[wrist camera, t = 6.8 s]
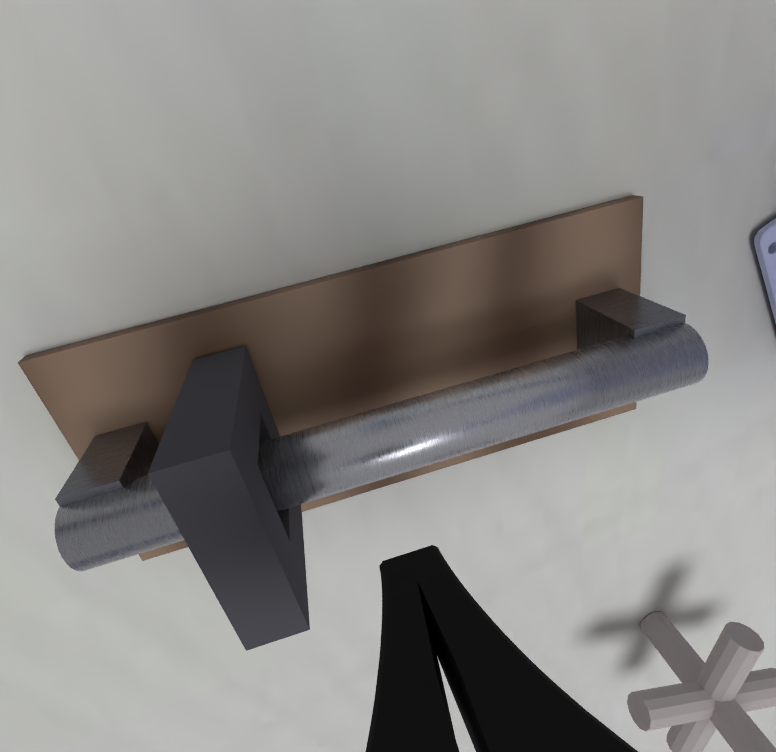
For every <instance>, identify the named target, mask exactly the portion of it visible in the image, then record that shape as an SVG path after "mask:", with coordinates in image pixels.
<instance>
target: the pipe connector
mask: <svg viewBox="0 0 776 752" xmlns="http://www.w3.org/2000/svg"><path fill="white" fill-rule="evenodd" d="M640 627H641V629H642V630H643V632H644V633H645V634H646V636H647V637H648V638H649V640H650V641H651V642H652V644H653V645H654V646H655V648H656V649H657V650H658V652H659V653H660V654H661V655H662V657H663V658H664V659H665V661H666V662H667V663H668V665H669V666H670V667H671V669H672V670H673V671H674V673H675V674H676V675H677V677H678V678H679V679H680V681H681V682H682V683H681V684H675V685H670V686H664V687H658V688H652V689H647V690H641V691H635V692H631V693H630V694H629V695H628V701H627V703H628V708H629V712H630V714H631V716H632V718H633V720H634V722H635V723H636V724H637V726H638V727H639V728H640V729H642V730H644V731H649V730H654V729H659V728H664V727H669V726H671V728H670V730H669V732H668V734H667V743H668V745H669V747H670V749H671V750H672V752H703V750H704V748H705V747H706V745H707V743H708V742H709V740H710V738H711V737H712V735H713V733H714V732H715V730H716V728H717V730H718V731H719V732H720V733H721V735H722V736H723V737H724V739H725V740H726V741H727V743H728V744H729V745H730V747H731V748H732V749H733V751H734V752H776V748H775V747H774V746H773V745H772V743H771V742H770V741H769V740H768V739H767V737H766V736H765V735H764V734H763V733H762V731H761V730H760V729H759V728H758V727H757V725H756V724H755V723H754V722H753V721H752V719H751V718H750V717H749V716H748V715H747V713H746V711H752V710H757V709H762V708H767V707H772V706H776V669H775V668H768V669H762V670H756V671H751V670H752V668H753V666H754V665H755V663H756V661H757V660H758V658H759V656H760V655H761V653H762V651H763V650H764V642H763V641H762V639H761V638H760V636H759V635H758V634H757V633H756V632H754V631H753V630H752V629H751V628H749V627H747V626H745V625H743V624H741V623H737V622H729V623H728V624H726V625H725V627H724V629H723V631H722V632H721V634H720V636H719V638H718V640H717V642H716V644H715V646H714V647H713V649H712V651H711V653H710V655H709V657H708V659H707V661H706V662H705V663H704V661H703V660H702V659H701V658H700V657H699V655H698V654H697V653H696V652H695V651H694V649H693V648H692V647H691V646H690V645H689V643H688V642H687V641H686V640H685V639H684V637H683V636H682V635H681V634H680V633H679V631H678V630H677V629H676V628H675V626H674V625H673V624H672V623H671V622H670V620H669V619H668V618H667V617H666V616H665V614H664V613H662V612H654V613H651V614H649V615H648V616H646V617H645V618H644V619H643V620H642V622H641V625H640ZM750 671H751V672H750Z"/></svg>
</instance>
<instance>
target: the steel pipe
mask: <svg viewBox="0 0 776 752" xmlns="http://www.w3.org/2000/svg"><path fill="white" fill-rule="evenodd" d="M685 317H686V315H684V314H682V313H679V312H677V311H674V310H672V309H670V308H667V307H665V306H662V305H660V304H657V303H655V302H653V301H650V300H648V299H645V298H643V297H640V296H638V295H636V294H633V293H631V292H628V291H626V290H623V289H621V288H616V289H612V290H609V291H605V292H602V293H598V294H595V295H591V296H588V297H584V298H581V299H577V300H576V332H577V350H574V351H571V352H567V353H564V354H560V355H557V356H554V357H550V358H547V359H543V360H540V361H537V362H533V363H530V364H526V365H523V366H519V367H516V368H513V369H509V370H506V371H502V372H499V373H496V374H492V375H489V376H485V377H482V378H478V379H475V380H472V381H468V382H465V383H461V384H458V385H454V386H451V387H448V388H444V389H441V390H437V391H434V392H431V393H427V394H424V395H420V396H417V397H413V398H410V399H407V400H403V401H400V402H396V403H393V404H390V405H386V406H383V407H379V408H376V409H372V410H369V411H366V412H362V413H359V414H355V415H352V416H349V417H345V418H342V419H338V420H335V421H331V422H328V423H325V424H321V425H318V426H314V427H311V428H308V429H304V430H301V431H297V432H294V433H290V434H287V435H284V436H280V437H277V438H273V439H270V440H267V441H263V442H260V443H259V455H258V467H259V469H260V472H261V474H262V476H263V479H264V481H265V484H266V486H267V488H268V491H269V493H270V496H271V498H272V500H273V503H274V505H275V507H276V510H277V511H281V510H284V509H287V508H291V507H294V506H297V505H300V504H304V503H307V502H310V501H313V500H317V499H320V498H323V497H326V496H330V495H333V494H336V493H339V492H343V491H346V490H349V489H352V488H356V487H359V486H362V485H366V484H369V483H372V482H375V481H379V480H382V479H385V478H388V477H392V476H395V475H398V474H401V473H405V472H408V471H411V470H414V469H418V468H421V467H424V466H427V465H431V464H434V463H437V462H441V461H444V460H447V459H450V458H454V457H457V456H460V455H463V454H467V453H470V452H473V451H476V450H480V449H483V448H486V447H489V446H493V445H496V444H499V443H502V442H506V441H509V440H512V439H516V438H519V437H522V436H525V435H529V434H532V433H535V432H538V431H542V430H545V429H548V428H551V427H555V426H558V425H561V424H564V423H568V422H571V421H574V420H577V419H581V418H584V417H587V416H590V415H594V414H597V413H600V412H604V411H607V410H610V409H613V408H617V407H620V406H623V405H626V404H630V403H633V402H636V401H639V400H643V399H646V398H649V397H652V396H656V395H659V394H662V393H665V392H669V391H672V390H675V389H679V388H682V387H685V386H688V385H692V384H695V383H698V382H699V381H701V380H702V379H703V378H704V377H705V375H706V373H707V370H708V353H707V350H706V347H705V344H704V342H703V340H702V338H701V337H700V335H699V334H698V333H697V332H696V330H695V329H693V328H692V327H691V326H690V325H688V324H686V323H685ZM158 446H159V442H158V441H157V439H156V437H155V435H154V433H153V431H152V429H151V427H150V425H149V423H148V421H145V422H141V423H138V424H134V425H131V426H127V427H124V428H120V429H117V430H113V431H110V432H106V433H103V434H99V435H95V436H94V438H93V440H92V441H91V443H90V444H89V446H88V448H87V449H86V451H85V452H84V454H83V456H82V457H81V459H80V460H79V462H78V464H77V465H76V467H75V468H74V470H73V472H72V473H71V475H70V476H69V478H68V480H67V481H66V483H65V484H64V486H63V487H62V489H61V491H60V492H59V494H58V495H57V497H56V499H55V500H56V501H57V503H58V504H59V506H60V507H59V509H58V512H57V515H56V519H55V538H56V543H57V546H58V549H59V552H60V554H61V556H62V558H63V559H64V561H65V562H66V563H67V565H69V566H70V567H71V568H72V569H74V570H77V571H85V570H88V569H92V568H95V567H98V566H101V565H105V564H108V563H111V562H114V561H118V560H121V559H124V558H128V557H131V556H134V555H137V554H141V553H144V552H147V551H150V550H154V549H157V548H160V547H163V546H167V545H170V544H173V543H176V542H180V541H183V540H184V538H183V536H182V534H181V533H180V531H179V529H178V527H177V525H176V524H175V522H174V520H173V518H172V516H171V515H170V513H169V511H168V509H167V507H166V506H165V504H164V502H163V500H162V498H161V497H160V495H159V493H158V491H157V489H156V488H155V486H154V484H153V482H152V481H151V479H150V477H149V475H148V472H149V469H150V467H151V464H152V462H153V459H154V457H155V454H156V452H157V449H158Z"/></svg>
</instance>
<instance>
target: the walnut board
mask: <svg viewBox="0 0 776 752" xmlns="http://www.w3.org/2000/svg"><path fill="white" fill-rule="evenodd" d="M642 218H643V197H641V196H634V195H633V196H629V197H625V198H622V199H618V200H614V201H610V202H606V203H603V204H599V205H595V206H591V207H588V208H584V209H580V210H576V211H572V212H569V213H565V214H561V215H557V216H554V217H550V218H546V219H542V220H538V221H535V222H531V223H527V224H523V225H519V226H516V227H512V228H508V229H504V230H501V231H497V232H493V233H489V234H485V235H482V236H478V237H474V238H470V239H467V240H463V241H459V242H455V243H451V244H448V245H444V246H440V247H436V248H433V249H429V250H425V251H421V252H417V253H414V254H410V255H406V256H402V257H398V258H395V259H391V260H387V261H383V262H380V263H376V264H372V265H368V266H364V267H361V268H357V269H353V270H349V271H346V272H342V273H338V274H334V275H330V276H327V277H323V278H319V279H315V280H311V281H308V282H304V283H300V284H296V285H293V286H289V287H285V288H281V289H277V290H274V291H270V292H266V293H262V294H259V295H255V296H251V297H247V298H243V299H240V300H236V301H232V302H228V303H225V304H221V305H217V306H213V307H209V308H206V309H202V310H198V311H194V312H190V313H187V314H183V315H179V316H175V317H172V318H168V319H164V320H160V321H156V322H153V323H149V324H145V325H141V326H138V327H134V328H130V329H126V330H122V331H119V332H115V333H111V334H107V335H103V336H100V337H96V338H92V339H88V340H85V341H81V342H77V343H73V344H69V345H66V346H62V347H58V348H54V349H51V350H47V351H43V352H39V353H35V354H32V355H28V356H25V357H24V358H23V359H22V360H20V361H19V362H18V364H19V365H20V367H21V369H22V370H23V372H24V373H25V375H26V376H27V378H28V380H29V381H30V383H31V384H32V386H33V388H34V389H35V391H36V392H37V394H38V396H39V397H40V399H41V400H42V402H43V403H44V405H45V407H46V408H47V410H48V411H49V413H50V415H51V416H52V418H53V419H54V421H55V423H56V424H57V426H58V427H59V429H60V430H61V432H62V434H63V435H64V437H65V438H66V440H67V442H68V443H69V445H70V446H71V448H72V449H73V451H74V453H75V454H76V456H77V457H78V459H79V460H80V459H81V457H82V456H83V454H84V452H85V451H86V449H87V448H88V446H89V444H90V443H91V441H92V440H93V438H94V436H95V435H99V434H103V433H106V432H110V431H113V430H117V429H120V428H124V427H127V426H131V425H134V424H138V423H141V422H145V421H148V423H149V425H150V427H151V429H152V431H153V433H154V435H155V437H156V439H157V441H158V442H159V444H160V441H161V439H162V436H163V434H164V431H165V429H166V426H167V424H168V421H169V418H170V416H171V413H172V411H173V408H174V406H175V403H176V401H177V398H178V395H179V393H180V390H181V388H182V385H183V383H184V380H185V378H186V375H187V373H188V370H189V367H190V365H191V362H192V360H195V359H199V358H203V357H206V356H210V355H214V354H217V353H221V352H225V351H228V350H232V349H236V348H239V347H243V346H246V348H247V350H248V353H249V356H250V358H251V361H252V364H253V366H254V369H255V371H256V374H257V377H258V379H259V382H260V385H261V387H262V390H263V393H264V395H265V398H266V401H267V403H268V406H269V408H270V411H271V414H272V416H273V419H274V422H275V424H276V427H277V430H278V432H279V435H280V436H284V435H287V434H290V433H294V432H297V431H301V430H304V429H308V428H311V427H314V426H318V425H321V424H325V423H328V422H331V421H335V420H338V419H342V418H345V417H349V416H352V415H355V414H359V413H362V412H366V411H369V410H372V409H376V408H379V407H383V406H386V405H390V404H393V403H396V402H400V401H403V400H407V399H410V398H413V397H417V396H420V395H424V394H427V393H431V392H434V391H437V390H441V389H444V388H448V387H451V386H454V385H458V384H461V383H465V382H468V381H472V380H475V379H478V378H482V377H485V376H489V375H492V374H496V373H499V372H502V371H506V370H509V369H513V368H516V367H519V366H523V365H526V364H530V363H533V362H537V361H540V360H543V359H547V358H550V357H554V356H557V355H560V354H564V353H567V352H571V351H574V350H577V332H576V300H577V299H581V298H584V297H588V296H591V295H595V294H598V293H602V292H605V291H609V290H612V289H616V288H621V289H623V290H626V291H628V292H631V293H633V294H636V295H638V296H640V278H641V248H642ZM634 409H636V402H633V403H630V404H626V405H623V406H620V407H617V408H613V409H610V410H607V411H604V412H600V413H597V414H594V415H590V416H587V417H584V418H581V419H577V420H574V421H571V422H568V423H564V424H561V425H558V426H555V427H551V428H548V429H545V430H542V431H538V432H535V433H532V434H529V435H525V436H522V437H519V438H516V439H512V440H509V441H506V442H502V443H499V444H496V445H493V446H489V447H486V448H483V449H480V450H476V451H473V452H470V453H467V454H463V455H460V456H457V457H454V458H450V459H447V460H444V461H441V462H437V463H434V464H431V465H427V466H424V467H421V468H418V469H414V470H411V471H408V472H405V473H401V474H398V475H395V476H392V477H388V478H385V479H382V480H379V481H375V482H372V483H369V484H366V485H362V486H359V487H356V488H352V489H349V490H346V491H343V492H339V493H336V494H333V495H330V496H326V497H323V498H320V499H317V500H313V501H310V502H307V503H304V504H301V511H302V512H303V511H306V510H309V509H312V508H316V507H319V506H322V505H325V504H329V503H332V502H335V501H338V500H342V499H345V498H348V497H351V496H355V495H358V494H361V493H364V492H368V491H371V490H374V489H377V488H381V487H384V486H387V485H390V484H394V483H397V482H400V481H403V480H407V479H410V478H413V477H416V476H420V475H423V474H426V473H429V472H433V471H436V470H439V469H442V468H445V467H449V466H452V465H455V464H458V463H462V462H465V461H468V460H471V459H475V458H478V457H481V456H484V455H488V454H491V453H494V452H497V451H501V450H504V449H507V448H510V447H514V446H517V445H520V444H523V443H527V442H530V441H533V440H536V439H540V438H543V437H546V436H549V435H553V434H556V433H559V432H562V431H566V430H569V429H572V428H575V427H579V426H582V425H585V424H588V423H592V422H595V421H598V420H601V419H604V418H608V417H611V416H614V415H617V414H621V413H624V412H627V411H630V410H634ZM186 547H188V545H187V543H186V542H185V540H183V541H180V542H176V543H173V544H170V545H167V546H163V547H160V548H157V549H154V550H150V551H147V552H144V553H141V554H139V556H140V557H141V559H142V561H144V560H147V559H150V558H153V557H157V556H160V555H163V554H166V553H170V552H173V551H176V550H179V549H183V548H186Z"/></svg>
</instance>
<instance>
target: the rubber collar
mask: <svg viewBox="0 0 776 752" xmlns="http://www.w3.org/2000/svg"><path fill="white" fill-rule="evenodd" d="M277 437H280V435H279V432H278V430H277V427H276V424H275V422H274V419H273V416H272V414H271V411H270V408H269V406H268V403H267V401H266V398H265V395H264V393H263V390H262V387H261V385H260V382H259V379H258V377H257V374H256V371H255V369H254V366H253V364H252V361H251V358H250V356H249V353H248V350H247V348H246V346H243V347H239V348H236V349H232V350H228V351H225V352H221V353H217V354H214V355H210V356H206V357H203V358H199V359H195V360H192V362H191V365H190V367H189V370H188V373H187V375H186V378H185V380H184V383H183V385H182V388H181V390H180V393H179V395H178V398H177V401H176V403H175V406H174V408H173V411H172V413H171V416H170V418H169V421H168V424H167V426H166V429H165V431H164V434H163V436H162V439H161V441H160V444H159V446H158V449H157V452H156V454H155V457H154V459H153V462H152V464H151V467H150V469H149V472H148V475H149V477H150V479H151V481H152V482H153V484H154V486H155V488H156V489H157V491H158V493H159V495H160V497H161V498H162V500H163V502H164V504H165V506H166V507H167V509H168V511H169V513H170V515H171V516H172V518H173V520H174V522H175V524H176V525H177V527H178V529H179V531H180V533H181V534H182V536H183V538H184V540H185V542H186V543H187V545H188V547H189V549H190V550H191V552H192V554H193V556H194V558H195V559H196V561H197V563H198V565H199V567H200V568H201V570H202V572H203V574H204V576H205V577H206V579H207V581H208V583H209V585H210V586H211V588H212V590H213V592H214V594H215V595H216V597H217V599H218V601H219V603H220V604H221V606H222V608H223V610H224V612H225V613H226V615H227V617H228V619H229V620H230V622H231V624H232V626H233V628H234V629H235V631H236V633H237V635H238V637H239V638H240V640H241V642H242V644H243V646H244V647H245V649H246V650H250V649H253V648H256V647H259V646H262V645H265V644H268V643H271V642H274V641H277V640H280V639H283V638H286V637H289V636H292V635H295V634H298V633H301V632H304V631H307V630H310V627H309V612H308V598H307V583H306V569H305V554H304V540H303V526H302V511H301V504H300V505H297V506H294V507H291V508H287V509H284V510H281V511H277V510H276V507H275V505H274V503H273V500H272V498H271V496H270V493H269V491H268V488H267V486H266V484H265V481H264V479H263V476H262V474H261V472H260V469H259V467H258V455H259V443H260V442H263V441H267V440H270V439H273V438H277Z"/></svg>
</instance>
